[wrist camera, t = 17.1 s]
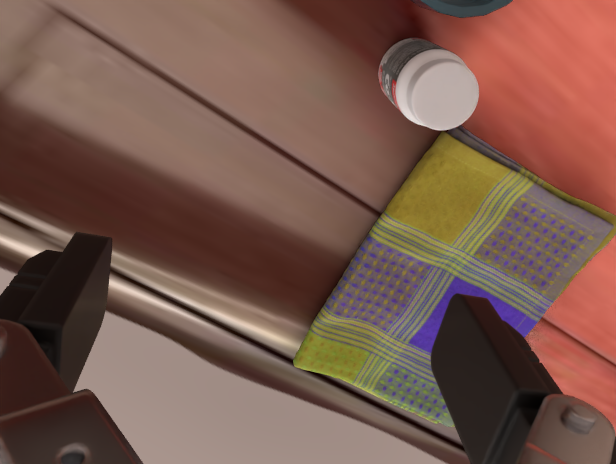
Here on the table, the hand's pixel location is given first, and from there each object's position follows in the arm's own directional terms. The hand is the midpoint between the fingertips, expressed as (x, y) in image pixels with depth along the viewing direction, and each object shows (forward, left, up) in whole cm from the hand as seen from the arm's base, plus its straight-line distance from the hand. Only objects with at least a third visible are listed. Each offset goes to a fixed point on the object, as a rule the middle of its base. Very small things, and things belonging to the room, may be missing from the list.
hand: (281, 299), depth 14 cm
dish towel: (+18, -14, -30) cm, 38 cm away
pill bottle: (+10, +2, -30) cm, 32 cm away
